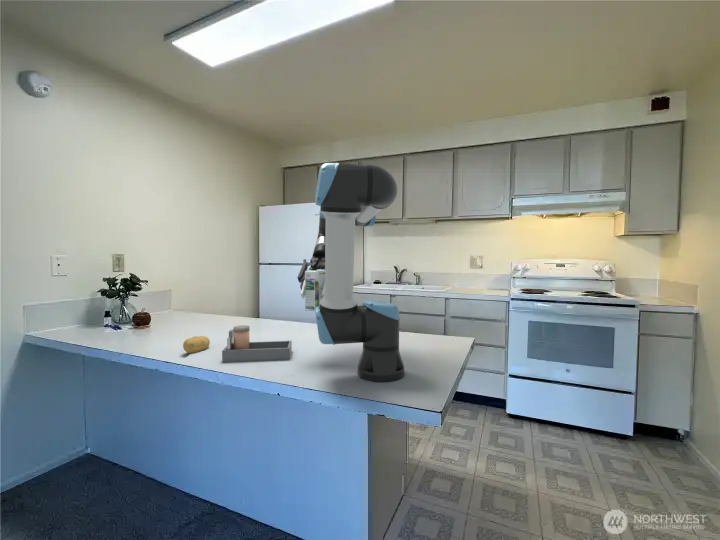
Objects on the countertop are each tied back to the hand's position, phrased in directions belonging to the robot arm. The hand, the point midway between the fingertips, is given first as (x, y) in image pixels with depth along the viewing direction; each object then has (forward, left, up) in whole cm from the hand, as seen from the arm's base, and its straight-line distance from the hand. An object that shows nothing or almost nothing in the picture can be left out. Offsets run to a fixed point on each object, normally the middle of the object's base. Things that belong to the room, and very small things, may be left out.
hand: (312, 296), depth 120 cm
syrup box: (+3, -1, -6) cm, 7 cm away
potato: (+18, +45, -24) cm, 54 cm away
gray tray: (+6, +20, -23) cm, 31 cm away
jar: (+6, +26, -22) cm, 35 cm away
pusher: (+6, +29, -22) cm, 37 cm away
